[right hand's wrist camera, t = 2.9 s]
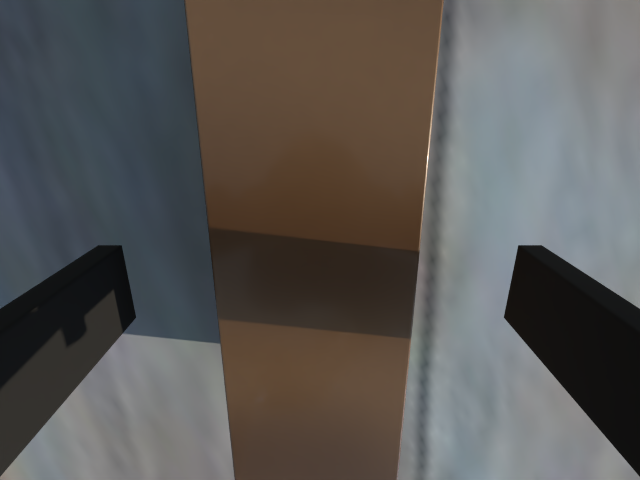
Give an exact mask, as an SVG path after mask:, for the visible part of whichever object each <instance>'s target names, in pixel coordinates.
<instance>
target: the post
mask: <svg viewBox="0 0 640 480" xmlns="http://www.w3.org/2000/svg"><path fill="white" fill-rule="evenodd" d="M443 1H444V0H184V3H185V13H186V22H187V32H188V41H189V51H190V60H191V70H192V79H193V88H194V98H195V107H196V117H197V126H198V136H199V145H200V155H201V164H202V174H203V183H204V193H205V202H206V212H207V221H208V231H209V240H210V249H211V259H212V268H213V278H214V287H215V297H216V306H217V316H218V325H219V335H220V344H221V354H222V363H223V373H224V382H225V391H226V401H227V410H228V420H229V429H230V439H231V448H232V458H233V467H234V477H235V480H398V470H399V459H400V449H401V439H402V428H403V418H404V407H405V397H406V387H407V376H408V366H409V355H410V345H411V335H412V324H413V314H414V303H415V293H416V283H417V272H418V262H419V251H420V241H421V230H422V220H423V210H424V199H425V189H426V178H427V168H428V158H429V147H430V137H431V126H432V116H433V106H434V95H435V85H436V74H437V64H438V53H439V43H440V33H441V22H442V12H443Z"/></svg>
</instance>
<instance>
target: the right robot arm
mask: <svg viewBox="0 0 640 480" xmlns="http://www.w3.org/2000/svg"><path fill="white" fill-rule="evenodd" d="M135 318H136V315H135V310H134V305H133V300H132V295H131V290H130V285H129V280H128V275H127V270H126V265H125V260H124V255H123V250H122V245H98V246H97V247H95V248H94V249H92V250H91V251H89V252H87V253H86V254H84V255H83V256H81V257H80V258H78V259H77V260H75V261H74V262H72V263H70V264H69V265H67V266H66V267H64V268H63V269H61V270H60V271H58V272H57V273H55V274H53V275H52V276H50V277H49V278H47V279H46V280H44V281H43V282H41V283H40V284H38V285H36V286H35V287H33V288H32V289H30V290H29V291H27V292H26V293H24V294H23V295H21V296H19V297H18V298H16V299H15V300H13V301H12V302H10V303H9V304H7V305H6V306H4V307H2V308H1V309H0V476H1V475H2V474H3V473H4V471H5V470H6V469H7V468H8V467H9V466H10V464H11V463H12V462H13V461H14V460H15V459H16V457H17V456H18V455H19V454H20V453H21V452H22V450H23V449H24V448H25V447H26V446H27V445H28V443H29V442H30V441H31V440H32V439H33V438H34V436H35V435H36V434H37V433H38V432H39V430H40V429H41V428H42V427H43V426H44V425H45V423H46V422H47V421H48V420H49V419H50V418H51V416H52V415H53V414H54V413H55V412H56V411H57V409H58V408H59V407H60V406H61V405H62V404H63V402H64V401H65V400H66V399H67V398H68V397H69V395H70V394H71V393H72V392H73V391H74V390H75V388H76V387H77V386H78V385H79V384H80V382H81V381H82V380H83V379H84V378H85V377H86V375H87V374H88V373H89V372H90V371H91V370H92V368H93V367H94V366H95V365H96V364H97V363H98V361H99V360H100V359H101V358H102V357H103V356H104V354H105V353H106V352H107V351H108V350H109V349H110V347H111V346H112V345H113V344H114V343H115V342H116V340H117V339H118V338H119V337H120V336H121V334H122V333H123V332H124V331H125V330H126V329H127V327H128V326H129V325H130V324H131V323H132V322H133V320H134V319H135ZM504 318H505V319H506V320H507V322H508V323H509V324H510V325H511V326H512V327H513V329H514V330H515V331H516V332H517V333H518V334H519V336H520V337H521V338H522V339H523V340H524V342H525V343H526V344H527V345H528V346H529V347H530V349H531V350H532V351H533V352H534V353H535V354H536V356H537V357H538V358H539V359H540V360H541V361H542V363H543V364H544V365H545V366H546V367H547V368H548V370H549V371H550V372H551V373H552V374H553V375H554V377H555V378H556V379H557V380H558V381H559V382H560V384H561V385H562V386H563V387H564V388H565V390H566V391H567V392H568V393H569V394H570V395H571V397H572V398H573V399H574V400H575V401H576V402H577V404H578V405H579V406H580V407H581V408H582V409H583V411H584V412H585V413H586V414H587V415H588V416H589V418H590V419H591V420H592V421H593V422H594V423H595V425H596V426H597V427H598V428H599V429H600V430H601V432H602V433H603V434H604V435H605V436H606V438H607V439H608V440H609V441H610V442H611V443H612V445H613V446H614V447H615V448H616V449H617V450H618V452H619V453H620V454H621V455H622V456H623V457H624V459H625V460H626V461H627V462H628V463H629V464H630V466H631V467H632V468H633V469H634V470H635V471H636V473H637V474H638V475H639V476H640V309H639V308H638V307H636V306H634V305H633V304H631V303H630V302H628V301H627V300H625V299H624V298H622V297H621V296H619V295H617V294H616V293H614V292H613V291H611V290H610V289H608V288H607V287H605V286H604V285H602V284H600V283H599V282H597V281H596V280H594V279H593V278H591V277H590V276H588V275H587V274H585V273H583V272H582V271H580V270H579V269H577V268H576V267H574V266H573V265H571V264H570V263H568V262H566V261H565V260H563V259H562V258H560V257H559V256H557V255H556V254H554V253H553V252H551V251H549V250H548V249H546V248H545V247H543V246H542V245H518V250H517V255H516V260H515V265H514V270H513V275H512V280H511V285H510V290H509V295H508V300H507V305H506V310H505V315H504Z"/></svg>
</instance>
